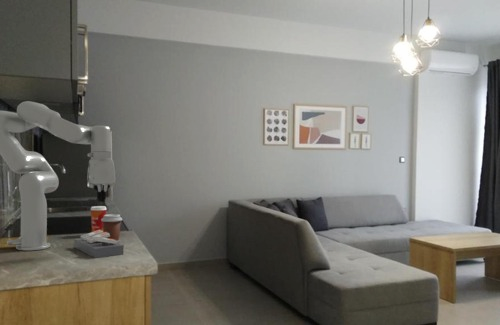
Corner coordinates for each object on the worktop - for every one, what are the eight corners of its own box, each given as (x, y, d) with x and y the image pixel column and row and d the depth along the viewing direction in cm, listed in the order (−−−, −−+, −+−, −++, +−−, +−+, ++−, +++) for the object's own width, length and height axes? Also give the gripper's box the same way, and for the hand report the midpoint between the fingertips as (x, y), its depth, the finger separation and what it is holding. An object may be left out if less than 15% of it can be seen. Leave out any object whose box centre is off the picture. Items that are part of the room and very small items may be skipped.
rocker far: (84, 240, 169) (84, 237, 169) (81, 238, 172) (80, 235, 172) (103, 233, 174) (102, 230, 174) (99, 232, 177) (99, 229, 177)
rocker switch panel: (95, 258, 155) (95, 246, 155) (74, 247, 173) (74, 237, 173) (123, 254, 162) (123, 243, 162) (100, 244, 180) (100, 234, 180)
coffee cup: (121, 239, 194) (121, 213, 194) (122, 242, 185) (123, 216, 185) (100, 240, 190) (101, 214, 190) (100, 243, 182) (101, 216, 182)
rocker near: (96, 241, 158) (97, 237, 158) (92, 239, 162) (93, 236, 162) (116, 243, 163) (117, 240, 163) (111, 242, 167) (112, 238, 167)
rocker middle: (90, 243, 164) (90, 240, 163) (86, 241, 167) (86, 238, 167) (110, 236, 169) (109, 233, 168) (106, 234, 172) (105, 231, 172)
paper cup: (87, 235, 203) (87, 206, 203) (102, 233, 208) (103, 205, 208) (93, 237, 197) (94, 207, 197) (109, 235, 203) (109, 207, 203)
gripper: (85, 155, 160) (85, 203, 160) (122, 156, 170) (122, 200, 170) (79, 156, 166) (79, 202, 166) (115, 156, 176) (115, 199, 176)
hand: (101, 201), depth 168 cm, fingers closed
